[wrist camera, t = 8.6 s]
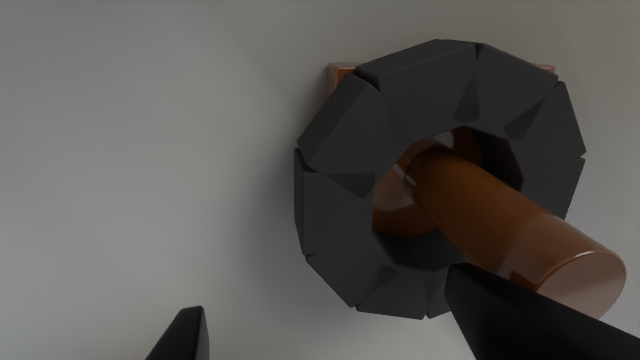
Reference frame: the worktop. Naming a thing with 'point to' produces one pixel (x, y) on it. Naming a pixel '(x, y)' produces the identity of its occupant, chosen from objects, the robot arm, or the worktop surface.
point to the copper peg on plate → (491, 219)
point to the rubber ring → (393, 140)
